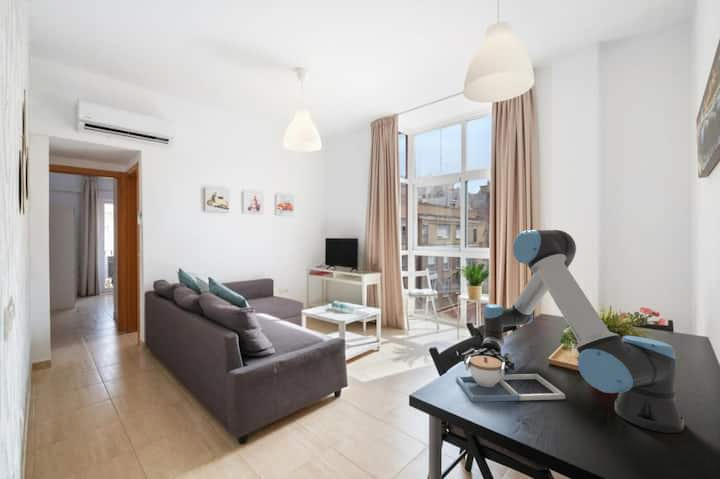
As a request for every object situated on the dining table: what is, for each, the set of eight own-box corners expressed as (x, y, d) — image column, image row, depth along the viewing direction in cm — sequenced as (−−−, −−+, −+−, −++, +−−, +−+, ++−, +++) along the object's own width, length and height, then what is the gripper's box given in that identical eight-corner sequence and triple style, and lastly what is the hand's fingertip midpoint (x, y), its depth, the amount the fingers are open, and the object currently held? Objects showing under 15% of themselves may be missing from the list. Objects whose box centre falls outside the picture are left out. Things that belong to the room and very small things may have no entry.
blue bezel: (519, 400, 105) (519, 395, 105) (472, 401, 105) (472, 397, 105) (496, 378, 121) (496, 374, 121) (456, 379, 121) (456, 375, 121)
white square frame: (565, 399, 106) (565, 394, 106) (517, 400, 105) (517, 395, 105) (536, 377, 122) (536, 373, 122) (495, 378, 121) (495, 374, 121)
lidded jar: (499, 378, 117) (499, 352, 117) (504, 392, 107) (504, 364, 107) (468, 374, 120) (468, 349, 120) (470, 388, 110) (470, 360, 109)
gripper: (523, 363, 124) (522, 388, 104) (461, 353, 135) (449, 374, 115) (523, 344, 124) (522, 365, 104) (461, 335, 134) (449, 353, 115)
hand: (484, 369), depth 110 cm, fingers closed on lidded jar, 11 cm apart
